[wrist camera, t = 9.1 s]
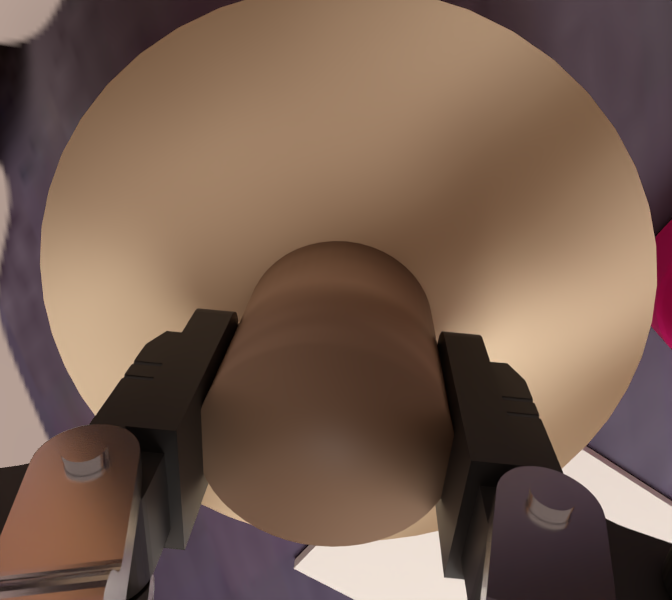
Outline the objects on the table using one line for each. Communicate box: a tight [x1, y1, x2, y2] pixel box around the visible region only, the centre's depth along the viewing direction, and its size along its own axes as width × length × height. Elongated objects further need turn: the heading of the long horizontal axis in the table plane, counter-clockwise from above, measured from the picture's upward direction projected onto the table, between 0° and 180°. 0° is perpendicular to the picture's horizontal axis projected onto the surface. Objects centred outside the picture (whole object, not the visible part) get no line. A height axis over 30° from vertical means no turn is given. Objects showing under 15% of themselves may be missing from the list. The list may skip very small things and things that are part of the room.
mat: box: [294, 446, 672, 600], centre depth 25 cm, size 13×13×1 cm
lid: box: [40, 0, 657, 547], centre depth 11 cm, size 13×13×5 cm
